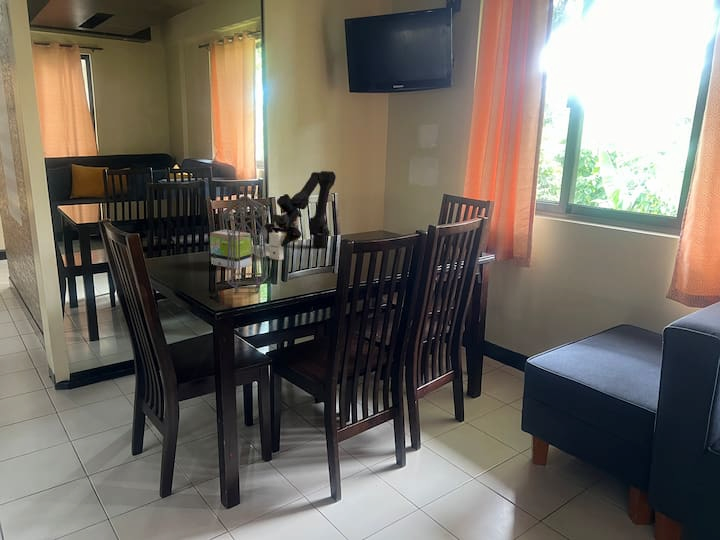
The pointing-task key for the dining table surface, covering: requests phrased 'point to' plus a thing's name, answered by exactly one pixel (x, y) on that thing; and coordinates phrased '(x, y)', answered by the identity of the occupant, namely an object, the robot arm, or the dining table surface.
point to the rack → (262, 250)
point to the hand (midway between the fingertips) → (274, 245)
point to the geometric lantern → (227, 212)
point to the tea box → (221, 249)
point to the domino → (276, 246)
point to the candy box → (292, 226)
